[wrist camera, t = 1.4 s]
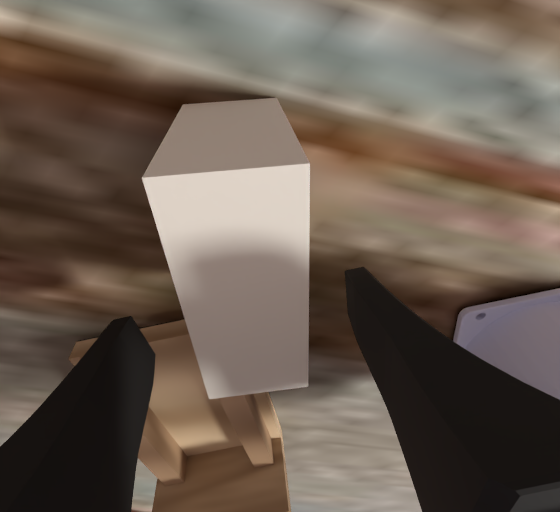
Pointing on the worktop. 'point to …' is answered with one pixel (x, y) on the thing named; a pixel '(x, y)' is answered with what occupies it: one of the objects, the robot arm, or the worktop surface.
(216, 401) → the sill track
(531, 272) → the worktop surface
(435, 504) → the robot arm
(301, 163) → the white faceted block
